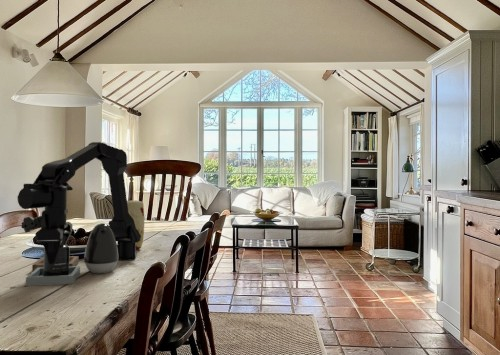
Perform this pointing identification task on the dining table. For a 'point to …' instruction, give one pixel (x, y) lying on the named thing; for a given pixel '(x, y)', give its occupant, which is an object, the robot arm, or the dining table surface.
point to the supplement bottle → (58, 261)
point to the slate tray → (52, 277)
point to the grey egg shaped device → (101, 250)
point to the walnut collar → (72, 262)
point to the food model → (137, 218)
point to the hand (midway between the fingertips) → (54, 260)
